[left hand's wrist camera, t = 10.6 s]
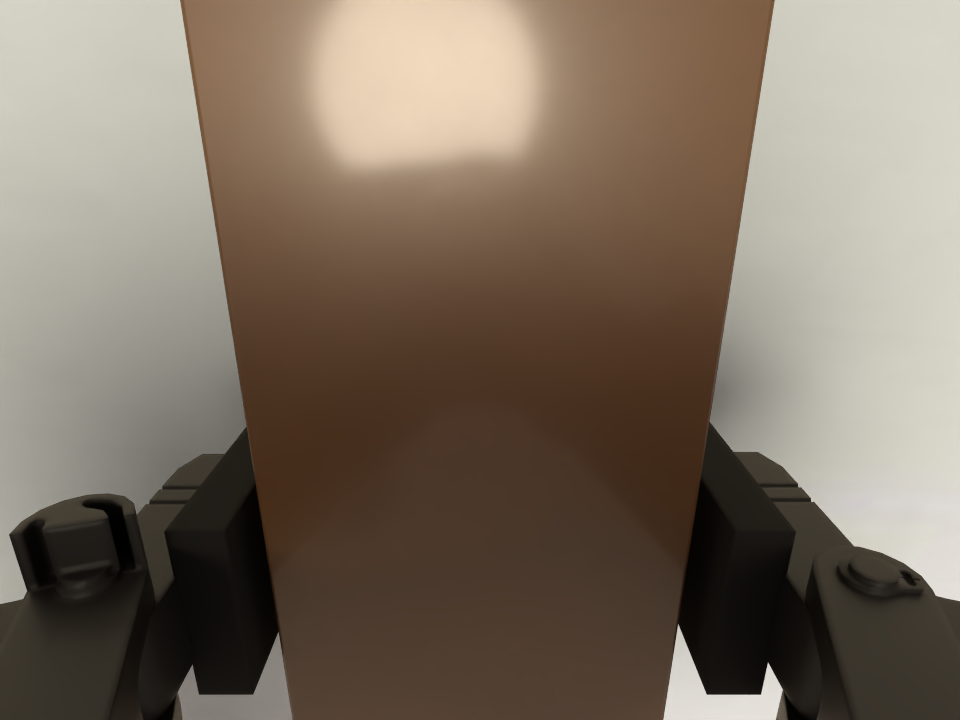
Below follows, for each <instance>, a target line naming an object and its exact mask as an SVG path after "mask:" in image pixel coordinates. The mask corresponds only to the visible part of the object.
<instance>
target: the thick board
mask: <svg viewBox="0 0 960 720" xmlns="http://www.w3.org/2000/svg"><path fill="white" fill-rule="evenodd" d="M774 1H775V0H180V2H181V8H182V15H183V21H184V27H185V34H186V40H187V47H188V53H189V59H190V66H191V72H192V79H193V85H194V91H195V98H196V104H197V111H198V117H199V123H200V130H201V136H202V143H203V149H204V156H205V162H206V168H207V175H208V181H209V188H210V194H211V200H212V207H213V213H214V220H215V226H216V232H217V239H218V245H219V252H220V258H221V264H222V271H223V277H224V284H225V290H226V296H227V303H228V309H229V316H230V322H231V329H232V335H233V341H234V348H235V354H236V361H237V367H238V373H239V380H240V386H241V393H242V399H243V405H244V412H245V418H246V425H247V431H248V437H249V444H250V450H251V457H252V463H253V470H254V476H255V482H256V489H257V495H258V502H259V508H260V514H261V521H262V527H263V534H264V540H265V546H266V553H267V559H268V566H269V572H270V578H271V585H272V591H273V598H274V604H275V610H276V617H277V623H278V630H279V636H280V643H281V649H282V655H283V662H284V668H285V675H286V681H287V687H288V694H289V700H290V707H291V713H292V719H293V720H663V718H664V711H665V705H666V698H667V692H668V685H669V679H670V673H671V666H672V660H673V653H674V647H675V640H676V634H677V627H678V621H679V614H680V608H681V602H682V595H683V589H684V582H685V576H686V569H687V563H688V556H689V550H690V543H691V537H692V530H693V524H694V518H695V511H696V505H697V498H698V492H699V485H700V479H701V472H702V466H703V459H704V453H705V446H706V440H707V434H708V427H709V421H710V414H711V408H712V401H713V395H714V388H715V382H716V375H717V369H718V363H719V356H720V350H721V343H722V337H723V330H724V324H725V317H726V311H727V304H728V298H729V291H730V285H731V279H732V272H733V266H734V259H735V253H736V246H737V240H738V233H739V227H740V220H741V214H742V207H743V201H744V195H745V188H746V182H747V175H748V169H749V162H750V156H751V149H752V143H753V136H754V130H755V124H756V117H757V111H758V104H759V98H760V91H761V85H762V78H763V72H764V65H765V59H766V52H767V46H768V40H769V33H770V27H771V20H772V14H773V7H774Z"/></svg>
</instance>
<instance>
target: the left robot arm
mask: <svg viewBox="0 0 960 720" xmlns="http://www.w3.org/2000/svg"><path fill="white" fill-rule="evenodd" d="M9 536H10V539H11V542H12V545H13V548H14V551H15V554H16V558H17V561H18V564H19V567H20V570H21V573H22V576H23V579H24V582H25V585H26V588H27V593H26V595H25V597H24V599H22V600H18V601H14V602H9V603H4V604H0V720H182V712H181V704H180V700H179V696H178V690H179V688H180V686H181V685H182V683H183V681H184V679H185V677H186V675H187V673H188V672H189V670H190V668H191V666H192V664H193V668H194V673H195V678H196V682H197V687H198V692H199V695H253V694H254V691H255V689H256V686H257V684H258V681H259V679H260V676H261V674H262V671H263V669H264V666H265V664H266V661H267V659H268V656H269V654H270V651H271V649H272V646H273V644H274V641H275V639H276V636H277V634H278V632H279V630H278V623H277V617H276V610H275V604H274V598H273V591H272V585H271V578H270V572H269V566H268V559H267V553H266V546H265V540H264V534H263V527H262V521H261V514H260V508H259V502H258V495H257V489H256V482H255V476H254V470H253V463H252V457H251V450H250V444H249V437H248V431H247V427H246V428H245V429H244V431H243V432H242V433H241V435H240V436H239V437H238V438H237V440H236V441H235V442H234V443H233V445H232V446H231V447H230V448H229V450H228V451H227V452H226V454H202V455H200V456H199V457H197V458H195V459H194V460H192V461H190V462H189V463H187V464H185V465H184V466H182V467H180V468H179V469H178V470H177V471H176V472H175V473H174V474H173V475H172V476H171V477H170V478H169V480H168V481H167V482H166V483H165V484H164V485H163V488H162V490H159V491H158V492H157V493H156V494H155V495H154V496H153V497H152V499H151V500H150V503H149V504H146V505H145V506H144V508H143V509H142V510H141V511H140V512H139V513H138V514H137V515H136V511H135V506H134V503H133V502H131V501H130V500H129V499H127V498H126V497H125V496H119V495H114V494H94V495H85V496H81V497H77V498H72V499H68V500H64V501H61V502H59V503H56V504H54V505H52V506H49V507H47V508H44V509H42V510H40V511H38V512H36V513H35V514H33V515H32V516H30V517H28V518H27V519H25V520H23V521H22V522H21V523H20V524H19V525H18V526H17V527H16V528H15V529H14V530H13V531H12V532H11V533H10V534H9ZM678 624H679V626H680V629H681V631H682V634H683V636H684V639H685V641H686V644H687V646H688V649H689V651H690V654H691V656H692V659H693V661H694V664H695V666H696V669H697V671H698V674H699V676H700V679H701V681H702V684H703V686H704V689H705V691H706V694H707V695H761V692H762V687H763V682H764V678H765V673H766V669H767V664H768V663H769V665H770V666H771V668H772V670H773V672H774V674H775V676H776V678H777V679H778V681H779V683H780V685H781V687H782V689H783V691H782V696H781V700H780V704H779V708H778V713H777V717H776V720H960V601H955V600H950V599H946V598H942V597H938V596H935V594H934V592H933V590H932V589H931V587H930V586H929V585H928V584H927V582H926V581H925V580H924V579H923V577H922V576H921V575H919V574H918V573H916V572H915V571H914V570H912V569H911V568H909V567H908V566H907V565H905V564H904V563H902V562H900V561H898V560H896V559H893V558H891V557H889V556H887V555H885V554H883V553H880V552H876V551H873V550H869V549H865V548H862V547H855V546H853V545H852V544H851V542H850V541H849V540H848V539H847V538H846V537H845V536H844V535H843V534H842V532H841V531H840V530H839V529H838V528H837V527H836V526H835V525H834V524H833V522H832V521H831V520H830V519H829V518H828V517H827V516H826V515H825V514H824V512H823V511H822V510H821V509H820V508H819V507H818V506H817V505H816V504H815V502H811V498H810V497H809V496H808V495H807V494H806V492H805V491H804V490H803V489H802V488H798V484H797V482H796V481H795V480H794V479H793V478H792V477H791V476H790V475H789V474H788V472H787V471H786V470H785V469H784V468H783V467H782V466H780V465H778V464H777V463H775V462H773V461H772V460H770V459H768V458H767V457H765V456H763V455H762V454H760V453H758V452H733V451H732V450H731V448H730V447H729V446H728V445H727V443H726V442H725V441H724V440H723V438H722V437H721V436H720V435H719V433H718V432H717V431H716V429H715V428H714V427H713V426H712V424H711V423H710V422H709V427H708V434H707V440H706V446H705V453H704V459H703V466H702V472H701V479H700V485H699V492H698V498H697V505H696V511H695V518H694V524H693V530H692V537H691V543H690V550H689V556H688V563H687V569H686V576H685V582H684V589H683V595H682V602H681V608H680V614H679V621H678Z"/></svg>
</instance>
